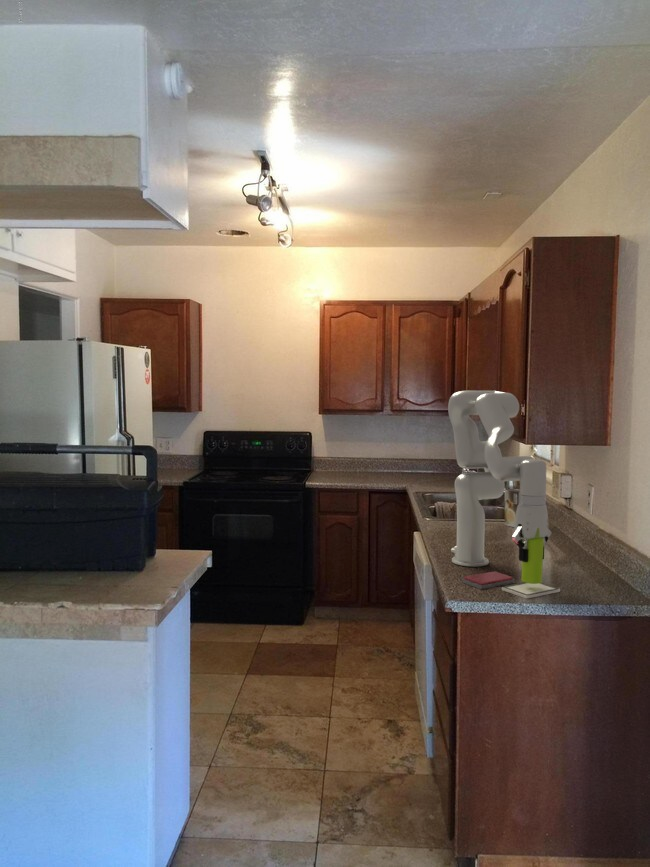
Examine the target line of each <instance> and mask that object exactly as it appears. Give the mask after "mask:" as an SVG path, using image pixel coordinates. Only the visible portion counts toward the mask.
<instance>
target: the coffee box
mask: <svg viewBox="0 0 650 867" xmlns="http://www.w3.org/2000/svg"><path fill="white" fill-rule="evenodd" d="M518 505H520V488H508V489H504V526H507V527H512V528H514V525H515V516H516V510H517V506H518Z"/></svg>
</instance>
